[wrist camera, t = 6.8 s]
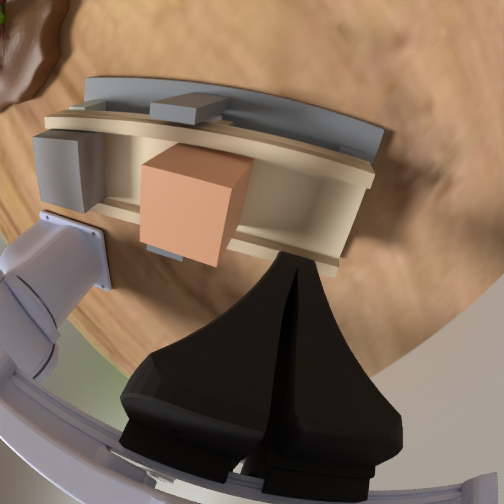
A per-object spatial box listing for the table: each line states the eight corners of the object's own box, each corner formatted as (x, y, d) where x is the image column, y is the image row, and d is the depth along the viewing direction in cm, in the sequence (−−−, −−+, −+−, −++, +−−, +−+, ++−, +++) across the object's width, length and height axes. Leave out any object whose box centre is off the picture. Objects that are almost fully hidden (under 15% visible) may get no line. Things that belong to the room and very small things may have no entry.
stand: (92, 189, 23) (47, 222, 18) (92, 76, 17) (34, 90, 12) (334, 255, 22) (333, 313, 17) (382, 127, 16) (406, 152, 11)
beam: (79, 183, 21) (39, 210, 17) (75, 106, 17) (27, 123, 13) (334, 247, 19) (333, 297, 15) (366, 155, 15) (380, 187, 11)
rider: (174, 205, 17) (139, 241, 14) (181, 140, 15) (141, 164, 11) (238, 224, 17) (216, 267, 14) (254, 158, 14) (231, 188, 11)
